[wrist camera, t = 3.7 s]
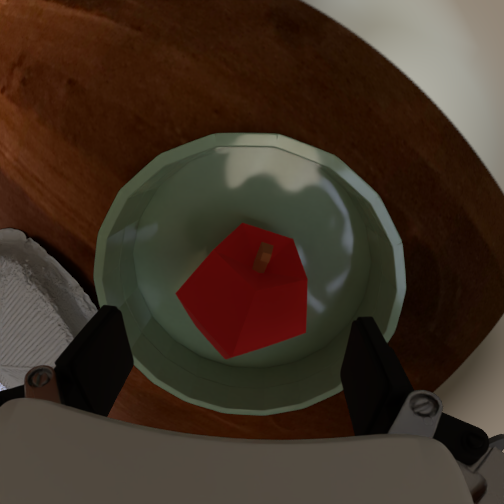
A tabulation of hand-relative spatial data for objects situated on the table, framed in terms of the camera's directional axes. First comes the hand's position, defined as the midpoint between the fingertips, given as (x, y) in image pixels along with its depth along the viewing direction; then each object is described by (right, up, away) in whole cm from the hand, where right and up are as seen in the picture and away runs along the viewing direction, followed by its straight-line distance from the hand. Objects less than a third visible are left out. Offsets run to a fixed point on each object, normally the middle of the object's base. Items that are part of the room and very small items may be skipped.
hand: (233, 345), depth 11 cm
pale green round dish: (+1, +2, +7) cm, 8 cm away
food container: (-19, -4, +11) cm, 22 cm away
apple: (+1, +2, +7) cm, 7 cm away
